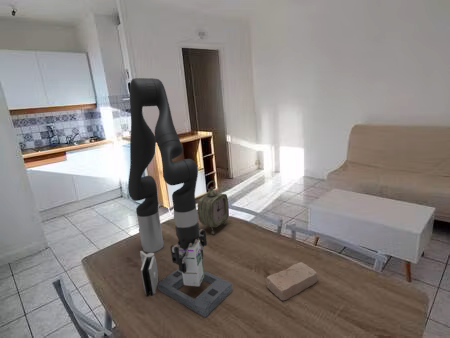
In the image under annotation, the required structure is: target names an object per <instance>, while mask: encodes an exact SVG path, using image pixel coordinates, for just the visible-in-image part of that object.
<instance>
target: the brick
mask: <svg viewBox="0 0 450 338" xmlns="http://www.w3.org/2000/svg"><path fill="white" fill-rule="evenodd" d="M317 282H318V273H317V271H316V270H315V269H313V268H312V267H309V265H307V264H305V263H304V262H302V261H300V262H298V263H295V264H293V265H291V266H289V267H288V268H286V269H284V270H280V271H279V272H275V273H272V274H270V275H268V276H267V277H266V287H267V289H269V291H270V292H271V293H272V294H274V296H276V297H277V298H279V300H281V301H287V300H288V299H290V298H291V297H294V296H296V295H297V294H298V295H299V293H301V292H303V291H305V290H307V289H308V288H309V287H311V286H313V285H314V284H317Z"/></svg>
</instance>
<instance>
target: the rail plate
mask: <svg viewBox="0 0 450 338" xmlns="http://www.w3.org/2000/svg"><path fill="white" fill-rule="evenodd" d="M202 281H205V282H206V283H208V284H210V285H209V286H207V288H206V289H204V290H203V291H202V292H200V294H198V295H197V296H196V297H195V298H194V297H191V296H190V295H188V294H186V293H185V292H182V291H180V290H179V289H180V288H182V287H183V286H185V285H184V282H183V276H182V272H181V271H180V270H179V267H178V268H177V269H175V270H174V271H172V272H170V273H169V274H168V275H166V276H165V277H164V278H162V279H160V280H158V283H157V287H158V291H160V292H161V293H163V294H164V295H166V296H168V297H169V298H171V299H173V300H174V301H176V302H178V303H179V304H181V305H183V306H184V307H186V308H188V309H190V310H191V311H193V312H195V313H196V314H198V315H199V316H201V317H203V318H207V316H208V315H210V313H211V312H213V310H214V309H216V308H217V307H218V305H219V304H221V302H222V301H224V299H226V297H228V296H229V295H230V294H231V293H232V291H233V283H232V282H230V281H228V280H226V279H224V278H221V277H219V276H218V275H215V274H213V273H210V272H209V271H206V270H204V277H203V280H202Z"/></svg>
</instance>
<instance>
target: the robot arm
mask: <svg viewBox="0 0 450 338" xmlns="http://www.w3.org/2000/svg"><path fill="white" fill-rule="evenodd" d="M129 105H130V106H129V107H130V108H129V109H130V140H129V141H130V142H129V144H130V145H129V146H130V147H129V148H130V149H129V151H130V153H129V154H130V156H129V157H130V165H129V167H130V168H129V175H128V184H127V187H128V188H127V191H128V194H129V197H130V199H131V201H132V200H133V201H134V202H138V201H142V203H140V204H139V205H138V206H137V207H136V210H135V213H136V217H137V222H138V232H139V239H140V244H141V248H142V251H143V252H144V253H156V252H158V251H160V250H161V249H163V247H164V239H163V237H164V236H163V233H162V232H163V231H162V225H161V218H160V212H159V211H160V210H159V198H158V187H157V183H156V180H155V178H154V177H153V176H151V175H146V176H143V175H144V173H145V171H146V170H147V167H148V166H149V165H150V164H151V162H152V161H153V159H154V157H155V154H156V144H157V147H158V149H159V152H160V155H161V157H160V158H161V164H162V165H161V166H162V178H163V180H164V182H165V183H166V184H168V185H169V186H176V185H177V186H178V185H181V184H183V185H182V186H181V187H180V188H178V189H175V190H174V191H173V193H172V194H171V199H172V207H173V221H174V227H175V233H176V237H177V243H176V244H175V245H173V244H172V245H171V246H170V248H169V249H170V253H171V255H170V256H171V261H172V263H173V264H176V265H178V268H179V270H180V271H181V272H183V273H185V272H186V264H185V259H186V257H187V256H188V253H189V252H188V248H189V247H191V245H192V244H193V243H197V242H199V241H198V239H199V240H200V242H199V245H200V246H201V253H202V260H204V247H206V246H207V244H208V242H207V233H206V230H205V229H203V228H202V229H201V228H200V221H199V216H198V208H197V205H196V195H195V194H196V187H197V182H198V174H199V170H198V169H199V168H198V165H197V163H196V162H195V161H194V160H193V159H191V158H185V159H180V160H176V161H175V160H174V159H175V158H178V157H179V156H181V154H183V152H184V148H183V147H184V146H183V145H182V142H181V139H180V137H179V135H178V133H177V130H176V127H175V124H174V120H173V117H172V112H171V107H170V103H169V99H168V95H167V92H166V89H165V85H164V83H163V82H162V81H161V80H160V79H158V78H153V77H152V78H145V77H143V78H141V77H139V78H138V77H136V78H132V79H131V80H130V83H129ZM143 107H157V109H158V119H157V121H156V124H155V127H154V132H153V131H152V129H151V128H150V126H149V125H148V123H147V122H146V120H145V118H144V116H143ZM173 160H174V161H173ZM148 168H149V167H148ZM179 248H182V249H183V250H186V251H185V253H182V252H180V250H179ZM181 255H182V256H183V257H182V259H181Z"/></svg>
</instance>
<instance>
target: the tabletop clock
mask: <svg viewBox="0 0 450 338" xmlns="http://www.w3.org/2000/svg"><path fill="white" fill-rule="evenodd" d="M211 183H214V185H213V186H210V188H209V185H210V184H211ZM216 185H217V183H216V181H214V180H211V181H209V182H208V183H207V185H206V190H207V192H206V194H205V195H203V196H202V197H200V198H198V201H197V213H198V221H199V223H200V224H201V225H203V226H206V227H209V228H211V231H210V233H211V234H210V235H215V234H216V233H215V231H214V228H218V227H220V226H221V225H224V226H226V225H227V220H228V218H229V216H230V215H229V209H230V208H229V197H228V195H227V194H226V193H223V192H217V191H216V190H215V187H216Z"/></svg>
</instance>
